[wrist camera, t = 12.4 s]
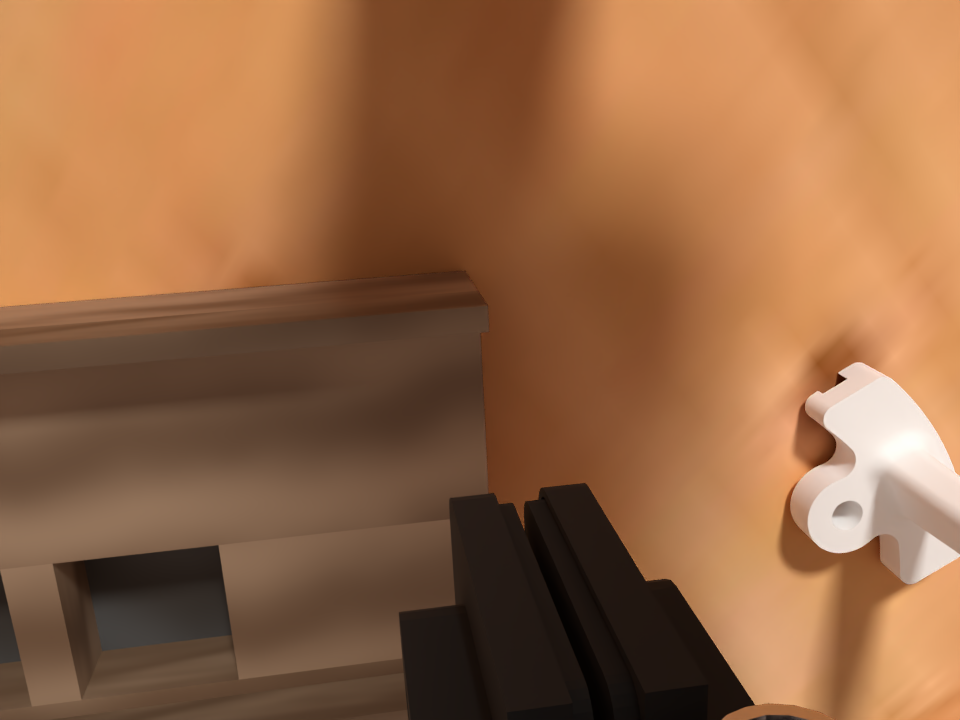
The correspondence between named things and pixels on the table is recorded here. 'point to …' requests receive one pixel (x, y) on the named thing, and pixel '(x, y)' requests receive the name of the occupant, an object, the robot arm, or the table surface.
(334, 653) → the box
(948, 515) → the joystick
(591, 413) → the table surface
